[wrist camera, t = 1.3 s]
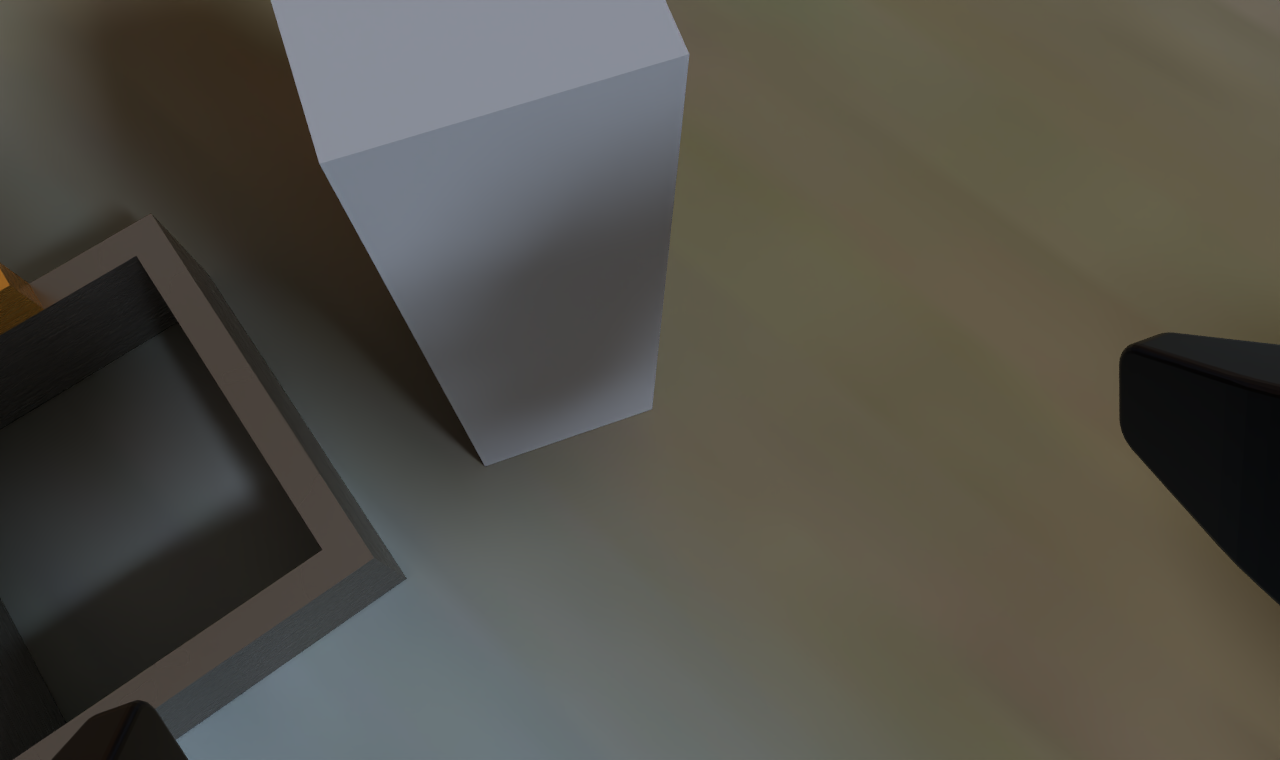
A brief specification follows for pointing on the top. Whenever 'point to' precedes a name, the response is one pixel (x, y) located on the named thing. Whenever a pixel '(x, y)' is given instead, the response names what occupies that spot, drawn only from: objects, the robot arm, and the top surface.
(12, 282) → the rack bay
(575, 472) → the top surface
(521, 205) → the grey rectangular prism
